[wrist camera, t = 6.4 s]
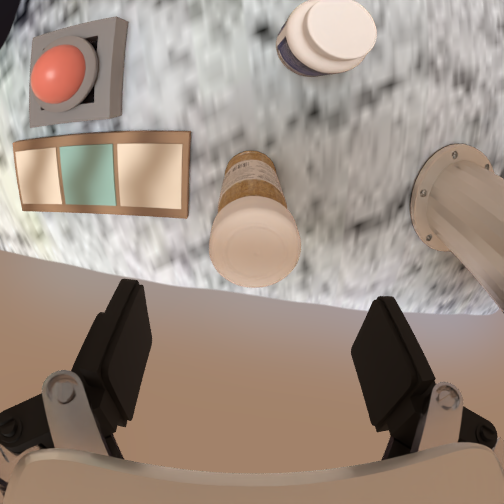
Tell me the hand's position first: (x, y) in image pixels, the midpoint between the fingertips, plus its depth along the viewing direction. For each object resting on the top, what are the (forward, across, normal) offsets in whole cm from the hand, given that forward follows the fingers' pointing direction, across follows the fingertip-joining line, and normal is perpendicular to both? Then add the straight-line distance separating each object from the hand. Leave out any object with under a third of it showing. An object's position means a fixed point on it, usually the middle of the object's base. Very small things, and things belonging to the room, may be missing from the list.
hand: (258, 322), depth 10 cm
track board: (+18, +16, 0) cm, 24 cm away
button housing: (+18, +16, -10) cm, 26 cm away
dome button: (+17, +16, -10) cm, 26 cm away
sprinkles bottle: (+18, 0, 0) cm, 18 cm away
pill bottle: (+18, -4, -12) cm, 22 cm away
